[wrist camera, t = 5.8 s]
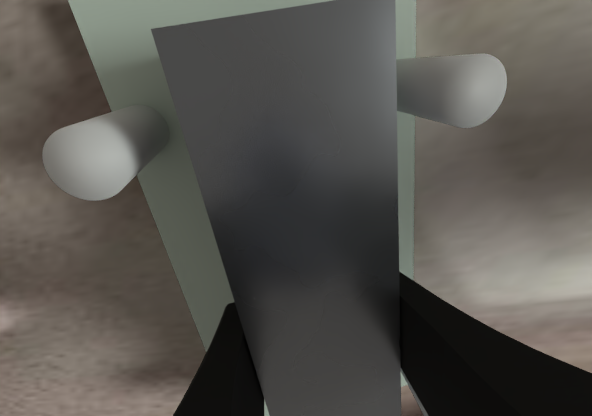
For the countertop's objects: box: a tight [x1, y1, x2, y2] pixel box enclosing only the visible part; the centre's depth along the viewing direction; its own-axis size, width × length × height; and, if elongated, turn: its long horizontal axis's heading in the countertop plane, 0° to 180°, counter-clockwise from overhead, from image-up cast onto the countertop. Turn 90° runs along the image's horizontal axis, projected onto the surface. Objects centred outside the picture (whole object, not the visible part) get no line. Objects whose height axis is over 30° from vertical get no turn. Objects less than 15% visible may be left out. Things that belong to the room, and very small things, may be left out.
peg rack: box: [42, 0, 507, 416], centre depth 12 cm, size 20×10×6 cm, turn 9°
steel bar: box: [151, 0, 401, 416], centre depth 11 cm, size 16×4×5 cm, turn 9°
